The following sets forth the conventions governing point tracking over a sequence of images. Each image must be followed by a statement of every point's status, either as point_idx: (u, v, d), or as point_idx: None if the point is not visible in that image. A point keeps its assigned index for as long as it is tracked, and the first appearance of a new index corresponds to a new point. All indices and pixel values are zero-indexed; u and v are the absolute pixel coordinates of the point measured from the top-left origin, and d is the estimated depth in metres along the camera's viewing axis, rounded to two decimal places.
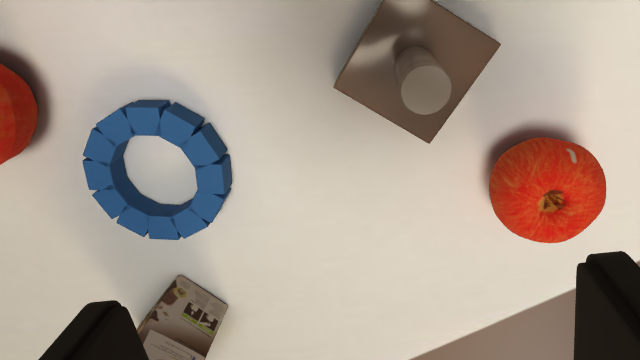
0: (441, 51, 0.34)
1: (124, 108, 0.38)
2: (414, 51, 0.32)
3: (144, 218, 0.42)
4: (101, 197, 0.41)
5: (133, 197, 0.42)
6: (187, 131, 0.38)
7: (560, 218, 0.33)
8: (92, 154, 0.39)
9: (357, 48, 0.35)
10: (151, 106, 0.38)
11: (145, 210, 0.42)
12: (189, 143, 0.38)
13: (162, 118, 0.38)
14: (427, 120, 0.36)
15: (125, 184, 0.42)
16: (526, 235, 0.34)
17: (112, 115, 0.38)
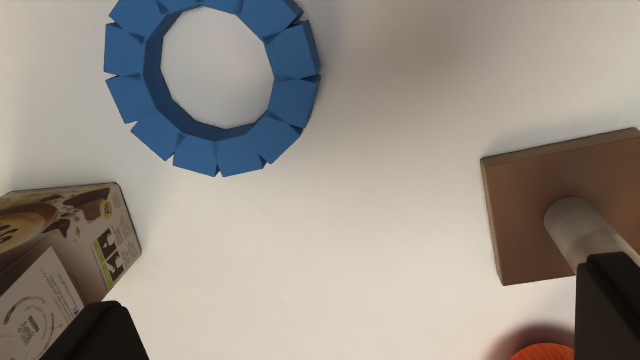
0: None
1: None
2: (605, 219, 0.26)
3: (147, 106, 0.28)
4: (116, 38, 0.26)
5: (152, 69, 0.28)
6: (302, 70, 0.26)
7: None
8: None
9: (545, 157, 0.27)
10: (288, 4, 0.25)
11: (155, 99, 0.28)
12: (290, 83, 0.26)
13: (289, 30, 0.25)
14: (524, 267, 0.31)
15: (156, 46, 0.28)
16: None
17: None
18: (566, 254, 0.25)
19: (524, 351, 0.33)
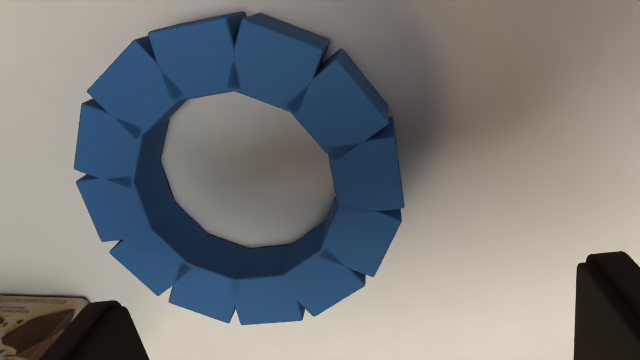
0: None
1: (323, 51, 0.15)
2: None
3: (138, 223, 0.18)
4: (96, 125, 0.17)
5: (149, 166, 0.19)
6: (383, 201, 0.17)
7: None
8: (169, 52, 0.15)
9: None
10: (374, 103, 0.16)
11: (151, 211, 0.19)
12: (361, 216, 0.17)
13: (372, 143, 0.16)
14: None
15: (157, 134, 0.18)
16: None
17: (295, 43, 0.15)
18: None
19: None
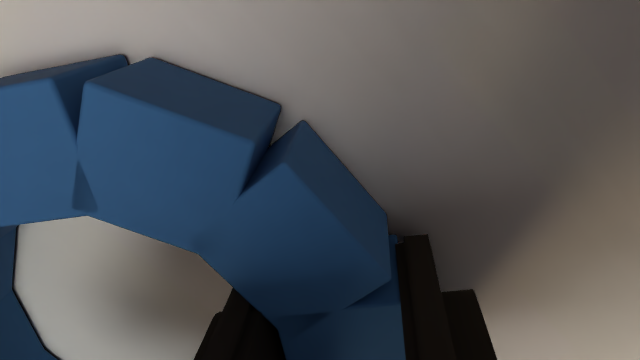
0: None
1: (261, 140, 0.08)
2: None
3: None
4: None
5: None
6: None
7: None
8: None
9: None
10: (364, 237, 0.08)
11: None
12: None
13: (359, 312, 0.08)
14: None
15: None
16: None
17: (196, 130, 0.07)
18: None
19: None
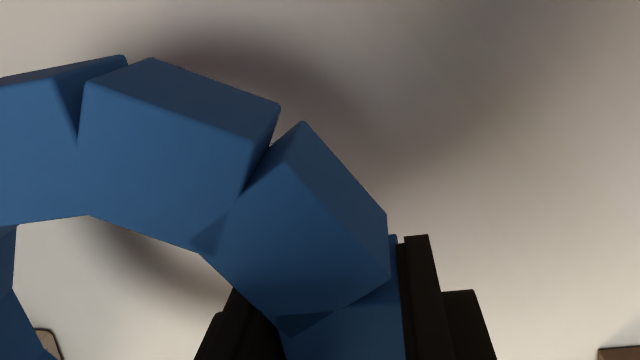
0: None
1: (261, 139, 0.08)
2: None
3: None
4: None
5: None
6: None
7: None
8: None
9: None
10: (363, 237, 0.08)
11: None
12: None
13: (359, 311, 0.08)
14: None
15: None
16: None
17: (197, 130, 0.07)
18: None
19: None
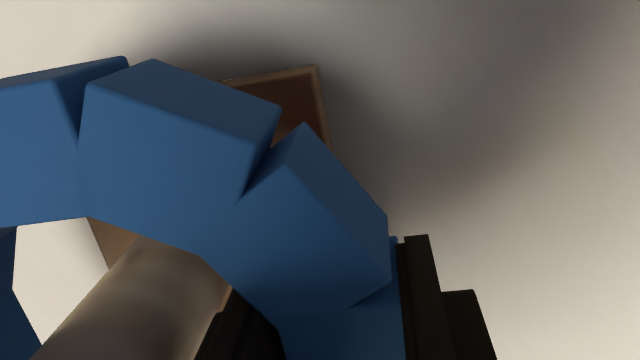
0: None
1: (262, 141, 0.08)
2: None
3: None
4: None
5: None
6: None
7: None
8: None
9: None
10: (364, 239, 0.08)
11: None
12: None
13: (360, 314, 0.08)
14: None
15: None
16: None
17: (198, 132, 0.07)
18: None
19: None
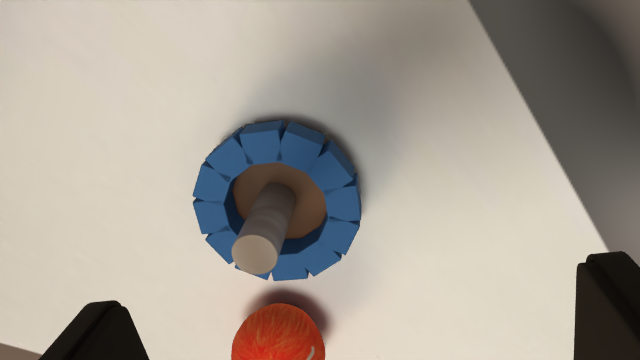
0: (303, 209, 0.37)
1: (322, 144, 0.32)
2: (283, 200, 0.34)
3: (223, 224, 0.35)
4: (207, 175, 0.34)
5: (228, 194, 0.35)
6: (350, 216, 0.34)
7: None
8: (249, 143, 0.32)
9: None
10: (346, 169, 0.33)
11: (229, 218, 0.35)
12: (339, 223, 0.34)
13: (345, 188, 0.33)
14: None
15: (234, 178, 0.35)
16: None
17: (309, 142, 0.32)
18: None
19: None
